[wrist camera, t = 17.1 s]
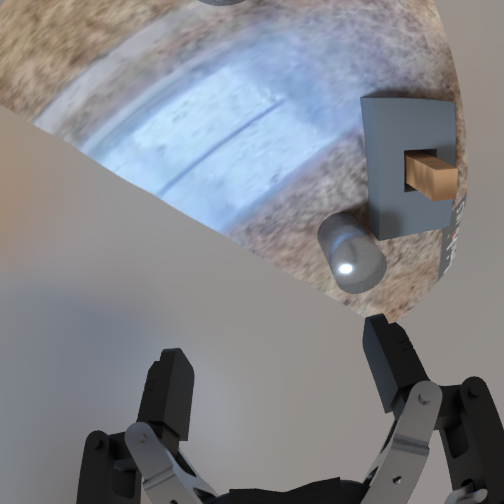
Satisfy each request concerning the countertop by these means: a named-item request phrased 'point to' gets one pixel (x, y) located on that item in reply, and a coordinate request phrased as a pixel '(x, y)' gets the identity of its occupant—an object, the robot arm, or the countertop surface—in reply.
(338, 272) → the round peg
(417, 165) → the square peg
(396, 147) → the socket block
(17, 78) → the countertop surface
